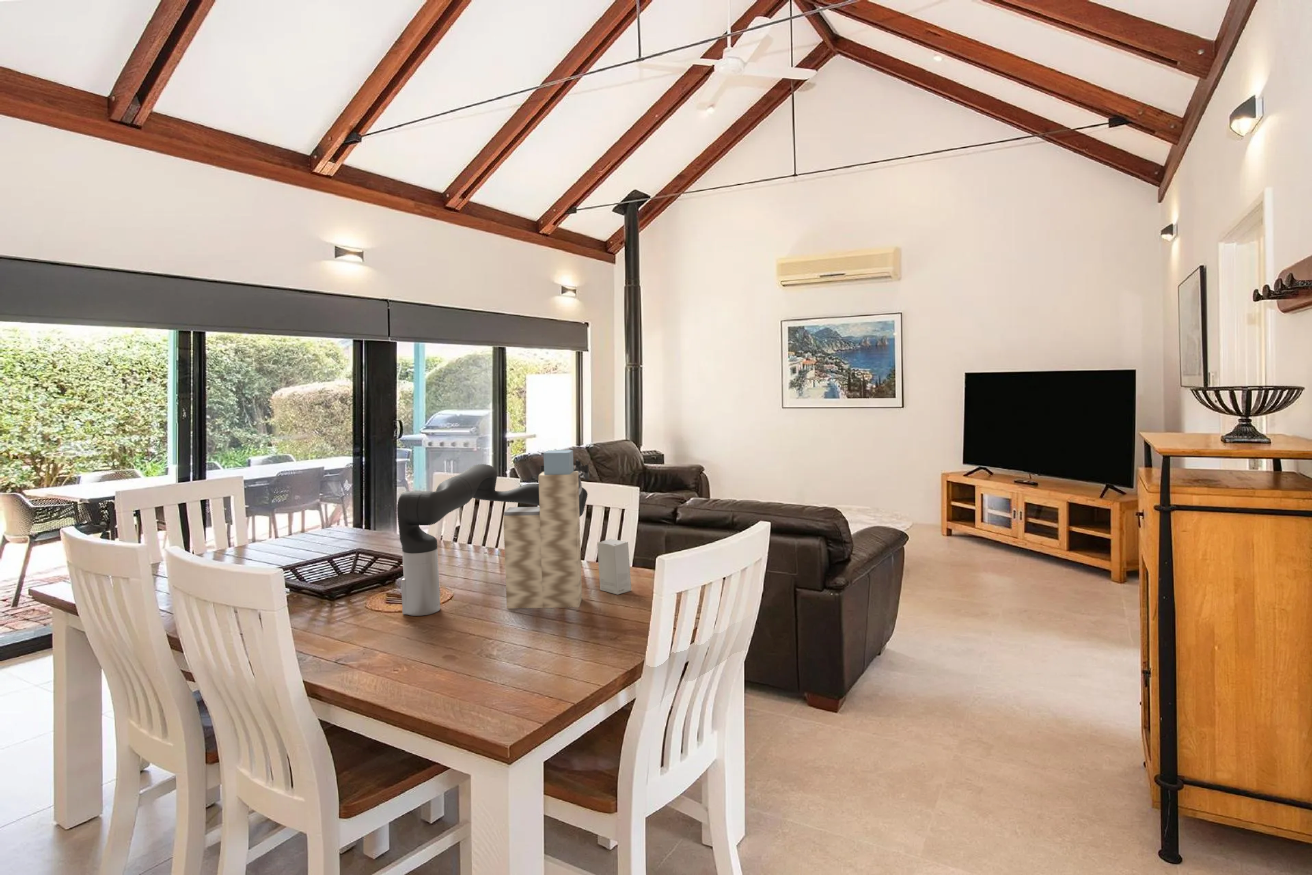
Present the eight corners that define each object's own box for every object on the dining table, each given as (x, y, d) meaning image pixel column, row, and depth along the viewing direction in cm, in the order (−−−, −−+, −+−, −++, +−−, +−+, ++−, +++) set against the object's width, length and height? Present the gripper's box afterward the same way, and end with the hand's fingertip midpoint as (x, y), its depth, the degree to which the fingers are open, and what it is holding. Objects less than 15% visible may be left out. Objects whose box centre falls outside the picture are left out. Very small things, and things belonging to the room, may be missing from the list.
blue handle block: (544, 474, 199) (543, 453, 198) (554, 467, 215) (554, 447, 215) (569, 474, 199) (569, 452, 198) (578, 466, 215) (577, 446, 215)
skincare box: (631, 591, 215) (630, 541, 214) (616, 595, 211) (615, 545, 210) (613, 585, 221) (612, 537, 220) (597, 589, 217) (596, 540, 216)
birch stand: (506, 608, 201) (501, 476, 198) (512, 600, 209) (507, 472, 206) (578, 607, 201) (575, 474, 198) (581, 598, 209) (578, 471, 205)
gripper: (546, 472, 225) (538, 451, 211) (592, 472, 225) (587, 450, 211) (545, 495, 222) (536, 475, 208) (591, 494, 222) (586, 474, 208)
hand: (562, 463), depth 209 cm, fingers open, 8 cm apart
